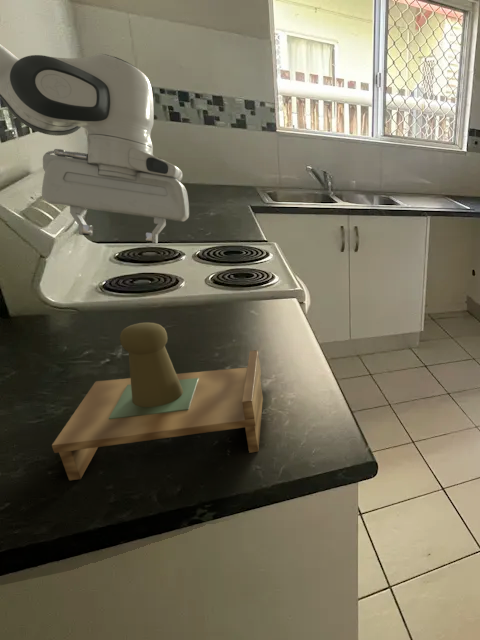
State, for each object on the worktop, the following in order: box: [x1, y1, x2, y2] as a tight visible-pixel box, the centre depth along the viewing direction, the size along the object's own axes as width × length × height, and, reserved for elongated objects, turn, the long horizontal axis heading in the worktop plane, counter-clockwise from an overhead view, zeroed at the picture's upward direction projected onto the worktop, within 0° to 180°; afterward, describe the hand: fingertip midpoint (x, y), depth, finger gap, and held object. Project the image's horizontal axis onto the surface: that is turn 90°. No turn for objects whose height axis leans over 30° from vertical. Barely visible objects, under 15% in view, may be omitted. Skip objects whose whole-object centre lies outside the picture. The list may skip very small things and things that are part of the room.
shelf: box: [51, 349, 264, 481], centre depth 69 cm, size 22×16×9 cm
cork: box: [119, 322, 183, 407], centre depth 66 cm, size 6×6×11 cm
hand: (119, 239), depth 84 cm, fingers open, 8 cm apart
